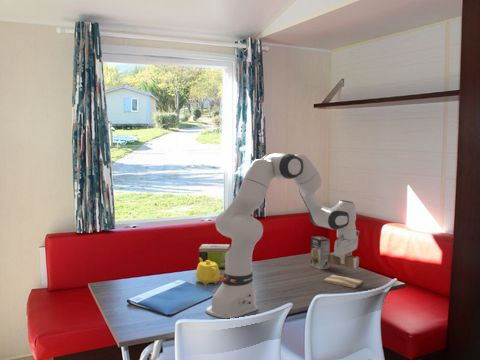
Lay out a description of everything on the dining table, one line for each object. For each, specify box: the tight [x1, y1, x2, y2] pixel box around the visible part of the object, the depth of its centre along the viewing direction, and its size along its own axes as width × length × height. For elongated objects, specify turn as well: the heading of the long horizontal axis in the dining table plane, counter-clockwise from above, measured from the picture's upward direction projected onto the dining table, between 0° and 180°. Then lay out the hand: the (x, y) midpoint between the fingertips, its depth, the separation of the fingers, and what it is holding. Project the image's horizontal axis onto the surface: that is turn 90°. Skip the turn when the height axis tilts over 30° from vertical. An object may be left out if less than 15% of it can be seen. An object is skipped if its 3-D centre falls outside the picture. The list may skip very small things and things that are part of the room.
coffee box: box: [310, 235, 331, 270], centre depth 256 cm, size 9×6×16 cm
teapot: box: [195, 256, 220, 286], centre depth 231 cm, size 18×11×11 cm, turn 29°
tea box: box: [198, 243, 231, 276], centre depth 244 cm, size 15×10×15 cm, turn 84°
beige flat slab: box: [323, 274, 364, 289], centre depth 231 cm, size 10×16×1 cm, turn 54°
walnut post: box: [328, 252, 360, 269], centre depth 230 cm, size 4×4×14 cm
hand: (345, 261), depth 229 cm, fingers closed on walnut post, 4 cm apart
